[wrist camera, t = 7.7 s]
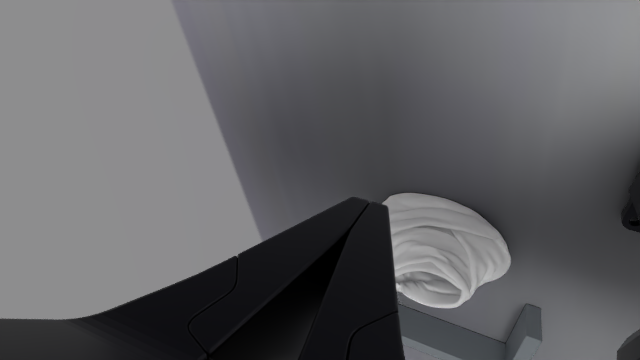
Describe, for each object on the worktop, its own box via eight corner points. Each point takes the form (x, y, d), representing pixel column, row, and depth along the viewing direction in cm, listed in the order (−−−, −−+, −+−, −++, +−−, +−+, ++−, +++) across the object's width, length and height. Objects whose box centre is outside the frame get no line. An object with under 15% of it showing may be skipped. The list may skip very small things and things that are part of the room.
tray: (540, 308, 23) (542, 341, 21) (514, 356, 26) (513, 388, 24) (329, 237, 28) (314, 259, 26) (325, 284, 30) (312, 307, 28)
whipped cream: (519, 200, 22) (528, 250, 18) (497, 294, 25) (500, 356, 21) (376, 180, 24) (354, 220, 20) (371, 267, 27) (352, 318, 23)
